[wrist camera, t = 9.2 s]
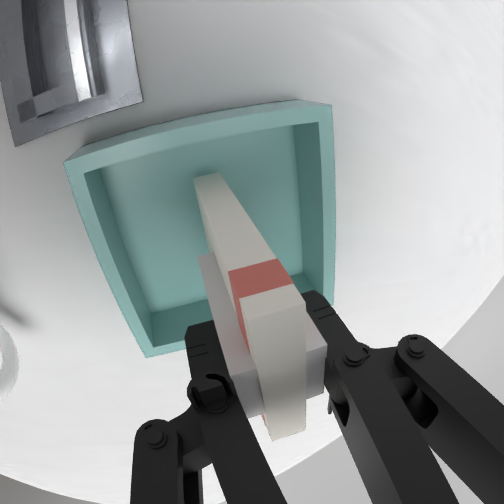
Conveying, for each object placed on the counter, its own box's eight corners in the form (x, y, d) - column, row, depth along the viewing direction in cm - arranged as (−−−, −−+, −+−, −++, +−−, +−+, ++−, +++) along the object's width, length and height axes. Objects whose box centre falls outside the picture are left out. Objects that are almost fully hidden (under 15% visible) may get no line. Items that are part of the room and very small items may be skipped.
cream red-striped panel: (192, 177, 16) (246, 319, 7) (219, 171, 16) (306, 301, 7) (216, 284, 20) (271, 441, 11) (238, 278, 20) (306, 430, 11)
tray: (82, 146, 15) (63, 162, 12) (299, 99, 17) (331, 105, 14) (144, 318, 22) (145, 358, 19) (309, 273, 24) (333, 305, 21)
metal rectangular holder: (-2, -23, 7) (-26, -35, 5) (120, -71, 9) (115, -97, 6) (19, 145, 14) (-6, 158, 11) (143, 101, 15) (139, 104, 12)
